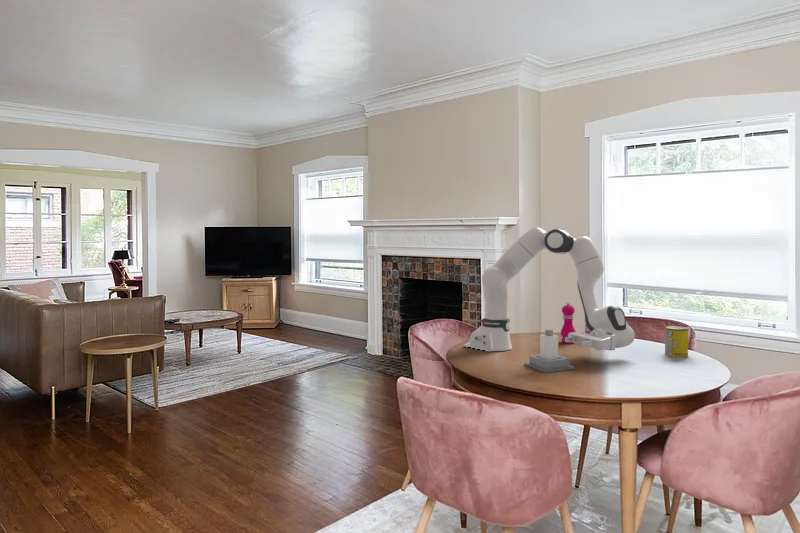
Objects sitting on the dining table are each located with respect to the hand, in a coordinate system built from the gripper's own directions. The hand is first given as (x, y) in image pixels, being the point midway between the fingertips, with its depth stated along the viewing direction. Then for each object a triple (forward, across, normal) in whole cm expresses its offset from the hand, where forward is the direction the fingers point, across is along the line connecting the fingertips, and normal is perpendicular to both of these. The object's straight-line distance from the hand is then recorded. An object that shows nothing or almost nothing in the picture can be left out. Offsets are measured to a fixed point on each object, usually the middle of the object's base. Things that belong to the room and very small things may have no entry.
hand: (573, 341), depth 229 cm
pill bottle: (-40, -36, +10) cm, 54 cm away
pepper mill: (-27, -38, +10) cm, 48 cm away
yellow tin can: (-51, +5, +9) cm, 52 cm away
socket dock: (+12, 0, +9) cm, 15 cm away
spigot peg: (+12, 0, +8) cm, 15 cm away
